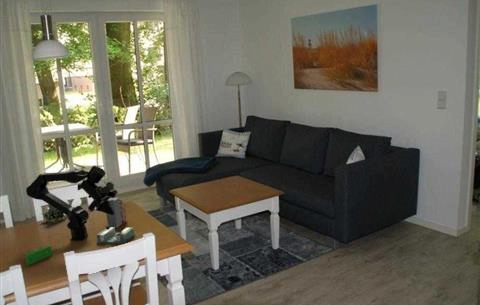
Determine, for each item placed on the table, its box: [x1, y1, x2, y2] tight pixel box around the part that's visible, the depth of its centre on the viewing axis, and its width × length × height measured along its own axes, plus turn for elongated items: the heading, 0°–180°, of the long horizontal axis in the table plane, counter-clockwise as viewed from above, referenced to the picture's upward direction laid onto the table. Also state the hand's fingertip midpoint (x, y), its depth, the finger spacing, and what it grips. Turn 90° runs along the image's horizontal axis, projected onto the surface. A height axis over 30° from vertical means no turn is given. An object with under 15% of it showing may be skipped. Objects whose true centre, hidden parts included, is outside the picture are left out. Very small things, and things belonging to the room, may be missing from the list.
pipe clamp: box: [24, 245, 53, 266], centre depth 185 cm, size 11×4×5 cm, turn 145°
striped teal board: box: [96, 224, 136, 245], centre depth 203 cm, size 14×11×6 cm
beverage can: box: [119, 199, 128, 226], centre depth 224 cm, size 8×8×12 cm
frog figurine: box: [41, 203, 68, 224], centre depth 236 cm, size 18×18×12 cm
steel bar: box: [106, 197, 123, 229], centre depth 201 cm, size 4×5×13 cm
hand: (116, 212), depth 201 cm, fingers closed on steel bar, 5 cm apart
